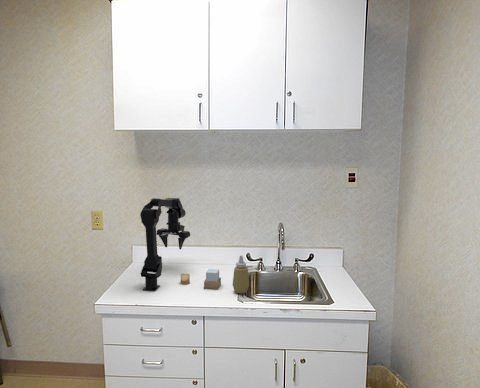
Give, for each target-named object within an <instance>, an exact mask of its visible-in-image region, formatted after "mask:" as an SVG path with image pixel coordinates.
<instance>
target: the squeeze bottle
mask: <svg viewBox="0 0 480 388" xmlns="http://www.w3.org/2000/svg"><path fill="white" fill-rule="evenodd" d="M235 264H236V266H234V269H233V276H232V287H233V290H234V293H236V294H238V293H242V294H241V295H243V294H247V292H248V289H249V287H250V281H249V280H250V277H249V268H248V267H247V263H246V262H244V257H243V255H239V259H238V262H236V263H235Z"/></svg>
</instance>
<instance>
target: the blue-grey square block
mask: <svg viewBox="0 0 480 388" xmlns="http://www.w3.org/2000/svg"><path fill="white" fill-rule="evenodd" d="M219 277H220V269H217V268H216V269H215V268H208V269H207V270H206V271H205V279H206V281H210V282H217V281H218V279H219Z"/></svg>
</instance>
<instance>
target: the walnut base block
mask: <svg viewBox="0 0 480 388" xmlns="http://www.w3.org/2000/svg"><path fill="white" fill-rule="evenodd" d="M221 284H222V277H220V276H219V279H218V281H217V282H210V281H206V278H205V279H204V281H203V289H205V290H217V291H218V290H219V289H220V287H221Z"/></svg>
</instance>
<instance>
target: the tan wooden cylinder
mask: <svg viewBox="0 0 480 388" xmlns="http://www.w3.org/2000/svg"><path fill="white" fill-rule="evenodd" d="M190 276H191V275H190V273H188V272H185V273H181V274H180V285H181V286H182V285H183V286H185V285H186V286H187V285H189V284H190V283H191V280H190V279H191V278H190Z"/></svg>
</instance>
